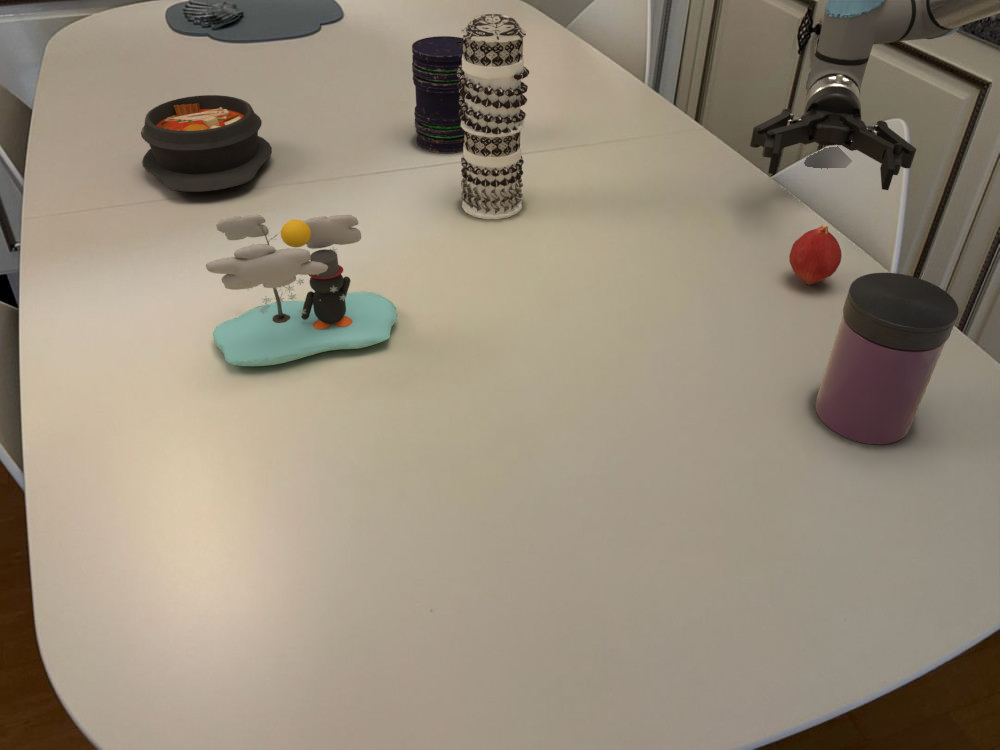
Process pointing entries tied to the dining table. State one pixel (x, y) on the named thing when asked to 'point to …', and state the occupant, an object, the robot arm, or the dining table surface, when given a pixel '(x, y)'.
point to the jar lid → (900, 311)
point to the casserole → (204, 143)
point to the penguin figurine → (295, 324)
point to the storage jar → (438, 93)
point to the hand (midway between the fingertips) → (830, 171)
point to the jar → (872, 387)
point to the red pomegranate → (815, 255)
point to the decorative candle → (492, 115)
